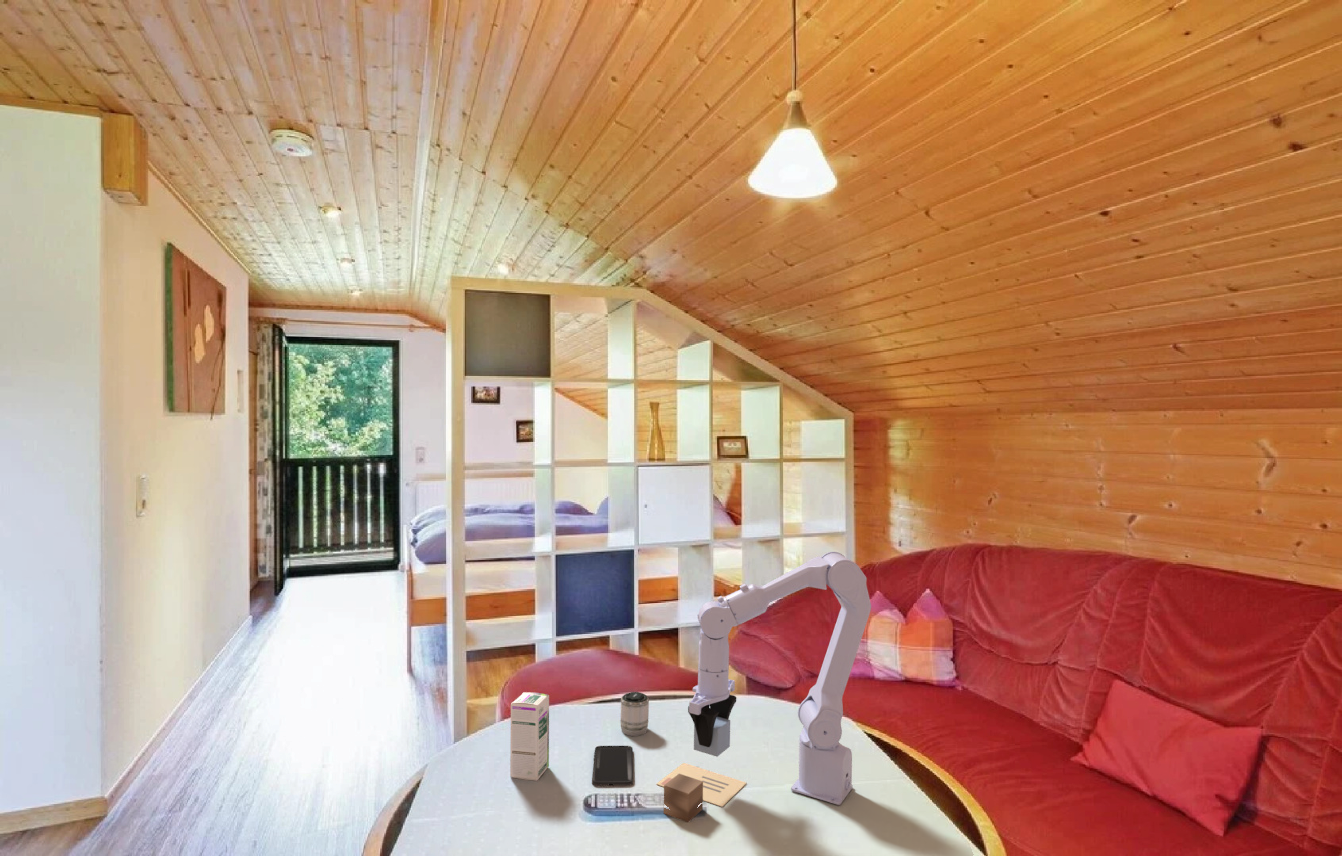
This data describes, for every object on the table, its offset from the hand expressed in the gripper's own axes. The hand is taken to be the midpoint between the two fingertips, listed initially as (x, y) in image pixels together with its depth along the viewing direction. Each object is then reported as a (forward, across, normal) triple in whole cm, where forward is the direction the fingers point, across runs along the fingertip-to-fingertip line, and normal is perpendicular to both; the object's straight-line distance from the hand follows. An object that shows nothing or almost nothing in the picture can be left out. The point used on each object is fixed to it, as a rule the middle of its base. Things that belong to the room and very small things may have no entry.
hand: (712, 739), depth 129 cm
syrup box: (+9, +15, -32) cm, 37 cm away
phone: (+10, +4, -20) cm, 23 cm away
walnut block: (+9, +10, 0) cm, 13 cm away
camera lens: (+9, -12, -26) cm, 30 cm away
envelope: (+9, 0, -2) cm, 9 cm away
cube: (+2, 0, 0) cm, 2 cm away
